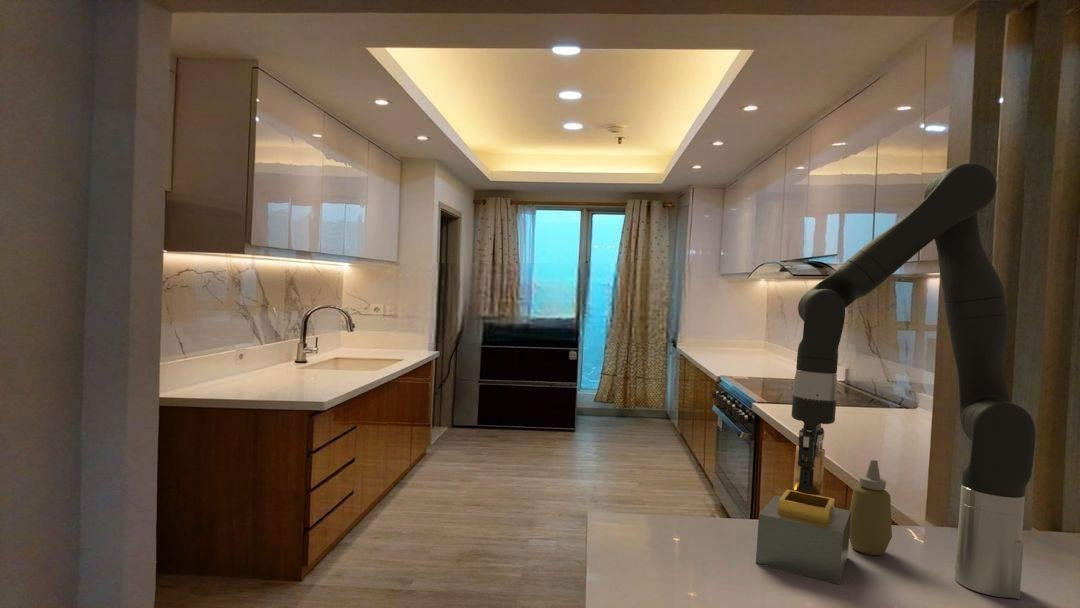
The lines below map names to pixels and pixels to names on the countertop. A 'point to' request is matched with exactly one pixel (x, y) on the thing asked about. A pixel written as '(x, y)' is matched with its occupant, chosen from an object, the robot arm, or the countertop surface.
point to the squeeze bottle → (870, 514)
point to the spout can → (816, 477)
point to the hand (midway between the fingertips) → (808, 485)
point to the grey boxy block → (804, 536)
